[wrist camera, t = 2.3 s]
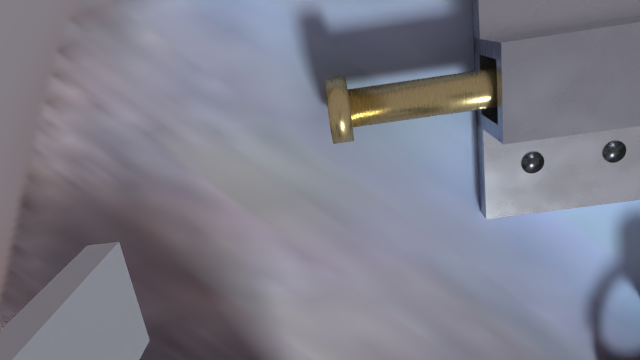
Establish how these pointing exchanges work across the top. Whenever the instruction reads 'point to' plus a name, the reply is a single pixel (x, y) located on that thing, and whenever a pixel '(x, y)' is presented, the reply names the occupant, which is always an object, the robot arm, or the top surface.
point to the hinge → (558, 104)
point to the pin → (406, 100)
